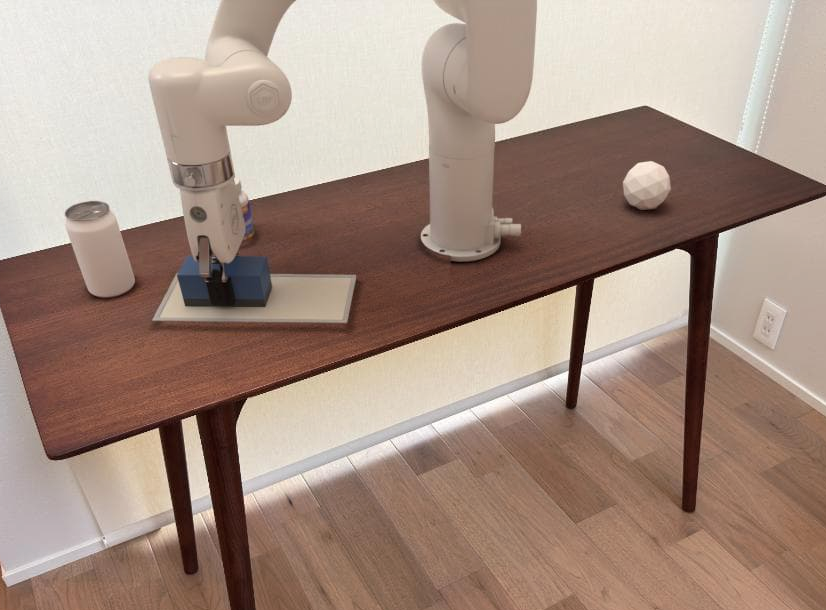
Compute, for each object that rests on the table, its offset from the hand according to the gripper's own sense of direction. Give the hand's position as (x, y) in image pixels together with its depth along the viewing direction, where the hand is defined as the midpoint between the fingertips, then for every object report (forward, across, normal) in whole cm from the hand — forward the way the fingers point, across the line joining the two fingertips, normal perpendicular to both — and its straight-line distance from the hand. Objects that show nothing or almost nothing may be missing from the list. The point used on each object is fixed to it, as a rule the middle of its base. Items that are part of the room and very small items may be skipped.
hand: (228, 291), depth 108 cm
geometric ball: (+2, +31, -63) cm, 70 cm away
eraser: (+1, 0, 0) cm, 1 cm away
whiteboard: (+2, 0, -4) cm, 5 cm away
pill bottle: (+2, +18, +3) cm, 18 cm away
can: (+2, +4, +18) cm, 19 cm away
